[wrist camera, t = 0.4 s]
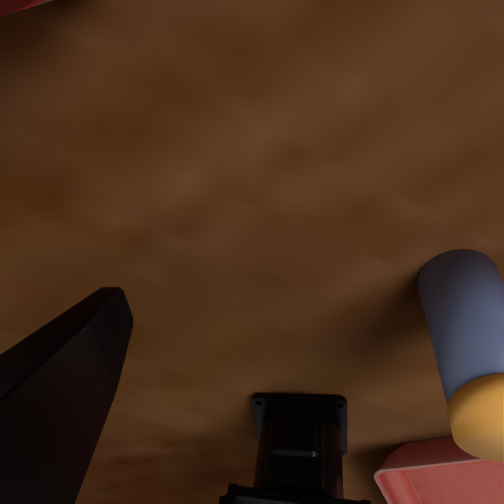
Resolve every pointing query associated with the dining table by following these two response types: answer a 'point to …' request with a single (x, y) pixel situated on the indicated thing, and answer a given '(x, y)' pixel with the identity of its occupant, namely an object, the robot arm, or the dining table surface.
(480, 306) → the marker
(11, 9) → the canned food
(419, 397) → the dining table surface
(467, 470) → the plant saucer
